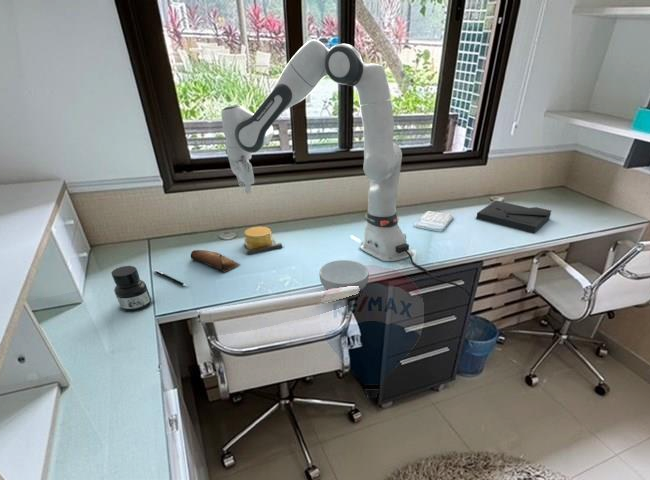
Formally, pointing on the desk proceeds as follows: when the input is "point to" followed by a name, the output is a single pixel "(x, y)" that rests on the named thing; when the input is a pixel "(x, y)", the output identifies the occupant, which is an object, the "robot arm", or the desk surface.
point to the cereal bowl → (343, 274)
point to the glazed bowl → (258, 237)
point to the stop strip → (264, 248)
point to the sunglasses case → (214, 259)
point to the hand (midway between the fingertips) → (245, 189)
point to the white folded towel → (434, 221)
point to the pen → (170, 278)
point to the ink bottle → (130, 289)
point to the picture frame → (514, 216)
